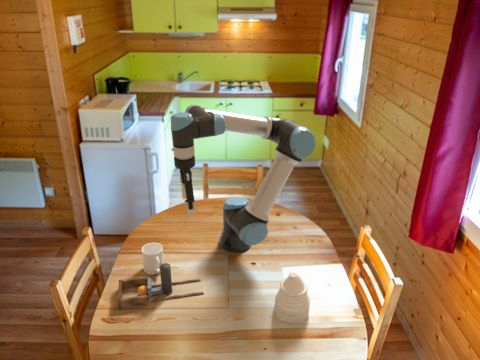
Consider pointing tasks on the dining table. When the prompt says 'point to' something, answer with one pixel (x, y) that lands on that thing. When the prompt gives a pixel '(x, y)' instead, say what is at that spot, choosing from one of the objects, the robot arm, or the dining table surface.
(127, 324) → the dining table surface
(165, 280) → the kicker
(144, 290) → the ball
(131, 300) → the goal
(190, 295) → the lane
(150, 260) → the mug
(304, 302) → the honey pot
